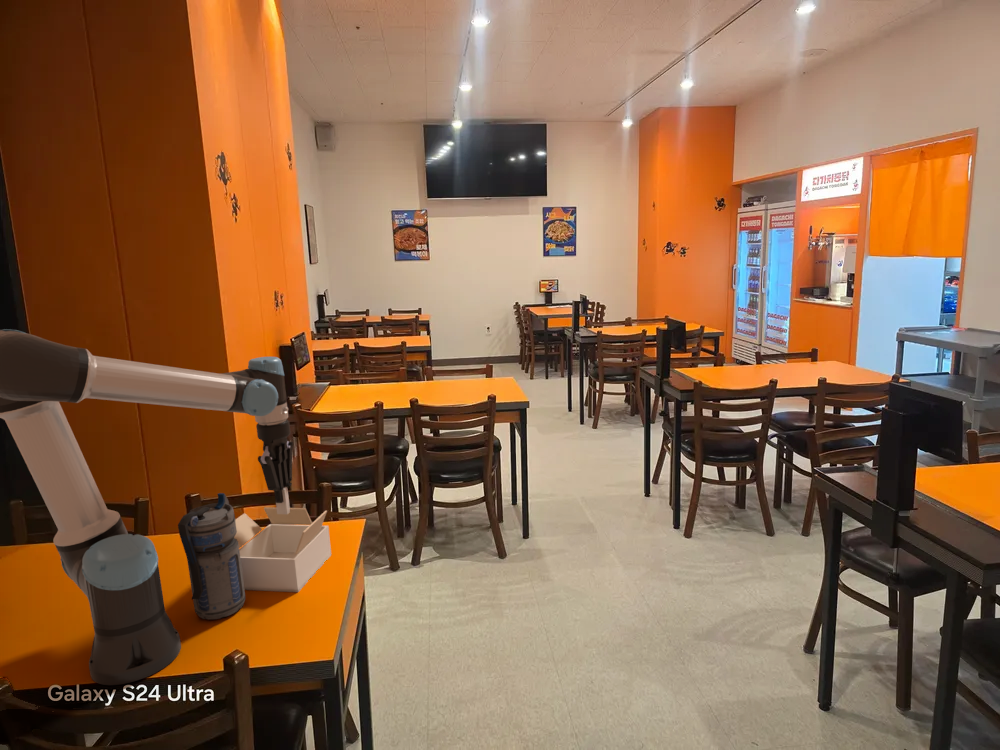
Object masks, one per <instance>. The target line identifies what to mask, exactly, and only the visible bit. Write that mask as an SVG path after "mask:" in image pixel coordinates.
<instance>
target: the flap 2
mask: <svg viewBox="0 0 1000 750" xmlns="http://www.w3.org/2000/svg"><path fill="white" fill-rule="evenodd" d="M327 513H328V510H324V511H323V513H321V514H320V515H319V516H318V517H316V519H315V520H314V521H312V524H311V525H310V526H309V527H307V528H306V529H305V530H304V531H303V533H302V536H301V539H300V541H299V544H298V547H297V550H296V552H295V554H298V553H299V552H300V551H301V550H302V549H303V548H304V547H305V546H306V545H307V544H308V543H309V542H310V541H311V540H312V539H313V538H314V537H315V536H316V535H317V534H318V533H319V532H320V529H321V526H323V523H324V520H325V518H326V516H327Z"/></svg>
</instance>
